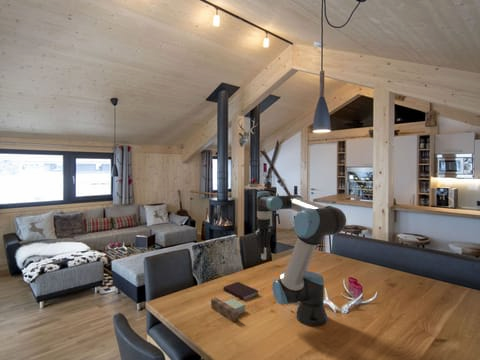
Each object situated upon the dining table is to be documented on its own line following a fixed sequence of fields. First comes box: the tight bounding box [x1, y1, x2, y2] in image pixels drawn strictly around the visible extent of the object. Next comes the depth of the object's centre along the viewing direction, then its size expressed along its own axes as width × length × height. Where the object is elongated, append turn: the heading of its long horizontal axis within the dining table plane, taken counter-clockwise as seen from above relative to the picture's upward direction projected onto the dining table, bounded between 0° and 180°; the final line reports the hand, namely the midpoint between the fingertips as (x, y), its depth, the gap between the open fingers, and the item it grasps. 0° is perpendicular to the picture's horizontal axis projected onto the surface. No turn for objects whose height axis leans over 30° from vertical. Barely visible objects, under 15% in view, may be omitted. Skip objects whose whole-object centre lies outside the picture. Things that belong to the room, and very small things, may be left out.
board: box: [210, 297, 240, 323], centre depth 154 cm, size 20×3×5 cm, turn 40°
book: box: [222, 281, 259, 302], centre depth 181 cm, size 12×19×3 cm, turn 40°
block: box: [223, 298, 246, 315], centre depth 158 cm, size 10×8×4 cm
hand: (263, 258), depth 170 cm, fingers closed
